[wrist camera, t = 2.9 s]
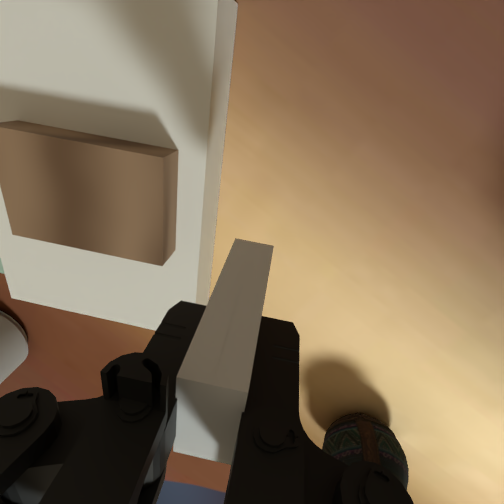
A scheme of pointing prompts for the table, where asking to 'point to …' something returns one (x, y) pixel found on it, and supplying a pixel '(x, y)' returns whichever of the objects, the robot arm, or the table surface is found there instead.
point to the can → (11, 345)
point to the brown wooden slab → (89, 191)
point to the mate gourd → (366, 444)
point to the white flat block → (122, 135)
